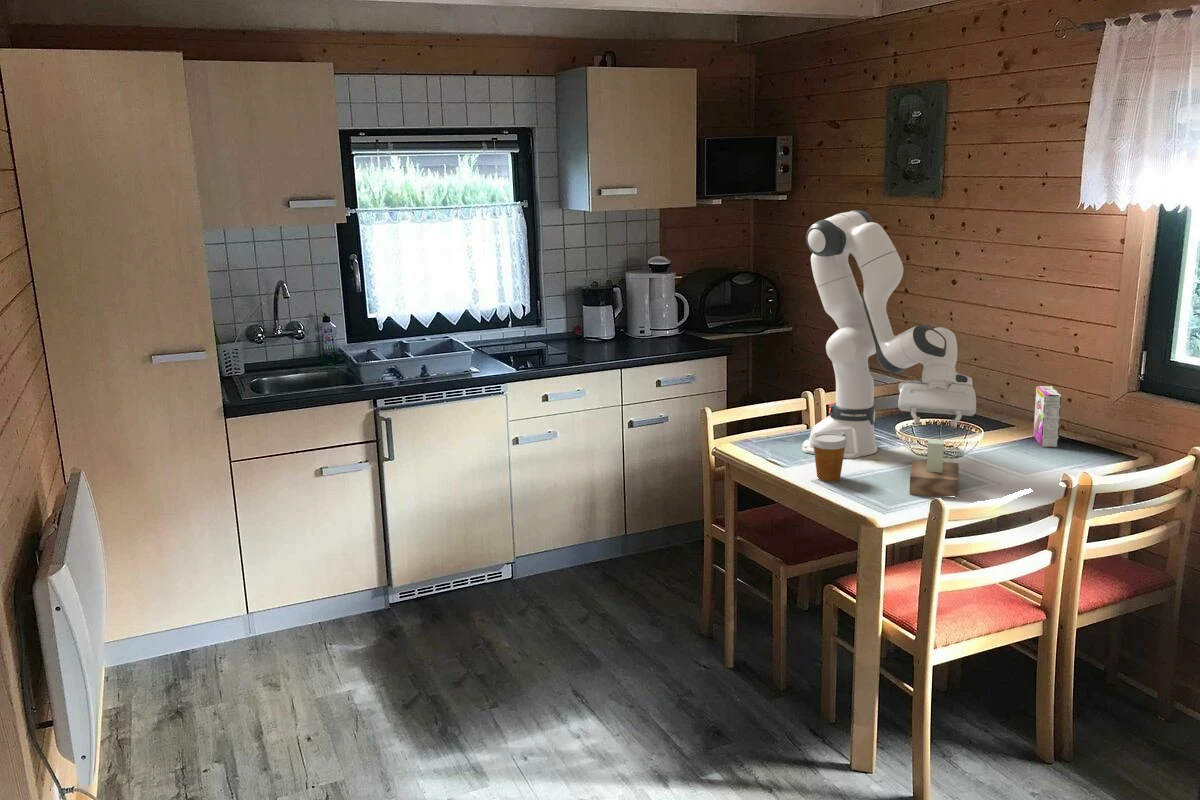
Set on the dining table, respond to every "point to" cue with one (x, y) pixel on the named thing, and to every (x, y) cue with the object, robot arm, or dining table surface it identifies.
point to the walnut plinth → (934, 480)
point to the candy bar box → (1047, 416)
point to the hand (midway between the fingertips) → (935, 425)
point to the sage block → (935, 455)
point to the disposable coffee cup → (829, 455)
